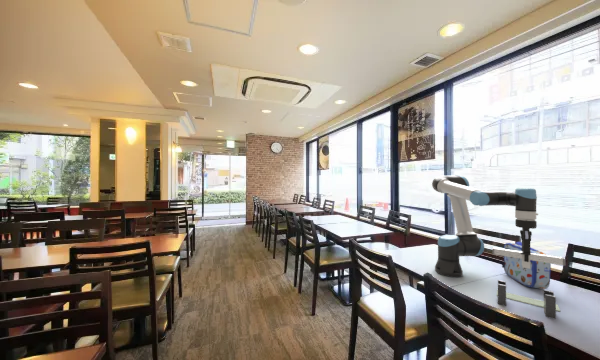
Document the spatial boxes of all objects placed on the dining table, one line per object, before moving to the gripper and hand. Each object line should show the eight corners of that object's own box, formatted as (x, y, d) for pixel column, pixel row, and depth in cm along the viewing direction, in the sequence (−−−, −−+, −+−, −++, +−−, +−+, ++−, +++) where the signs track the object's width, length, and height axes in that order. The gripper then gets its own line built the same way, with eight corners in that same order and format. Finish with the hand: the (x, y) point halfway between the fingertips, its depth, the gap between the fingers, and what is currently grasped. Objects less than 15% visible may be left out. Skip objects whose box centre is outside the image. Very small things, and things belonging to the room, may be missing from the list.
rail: (492, 254, 123) (492, 248, 123) (492, 252, 125) (492, 247, 125) (565, 265, 106) (565, 259, 106) (564, 263, 108) (564, 257, 108)
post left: (497, 304, 112) (497, 284, 112) (497, 298, 117) (497, 279, 117) (506, 306, 110) (506, 286, 110) (505, 300, 115) (505, 281, 115)
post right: (545, 316, 102) (545, 294, 102) (543, 310, 107) (543, 289, 107) (555, 319, 100) (555, 297, 100) (553, 312, 105) (553, 291, 105)
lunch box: (498, 271, 152) (498, 238, 151) (517, 273, 149) (517, 238, 149) (531, 291, 125) (531, 250, 125) (554, 293, 123) (554, 251, 123)
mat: (496, 296, 120) (496, 295, 120) (496, 291, 125) (496, 290, 125) (560, 311, 106) (560, 310, 106) (557, 305, 111) (557, 304, 111)
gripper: (538, 222, 107) (538, 273, 107) (534, 218, 119) (534, 264, 119) (516, 220, 112) (516, 269, 112) (514, 216, 124) (514, 260, 124)
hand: (525, 266), depth 115 cm, fingers closed on rail, 3 cm apart
